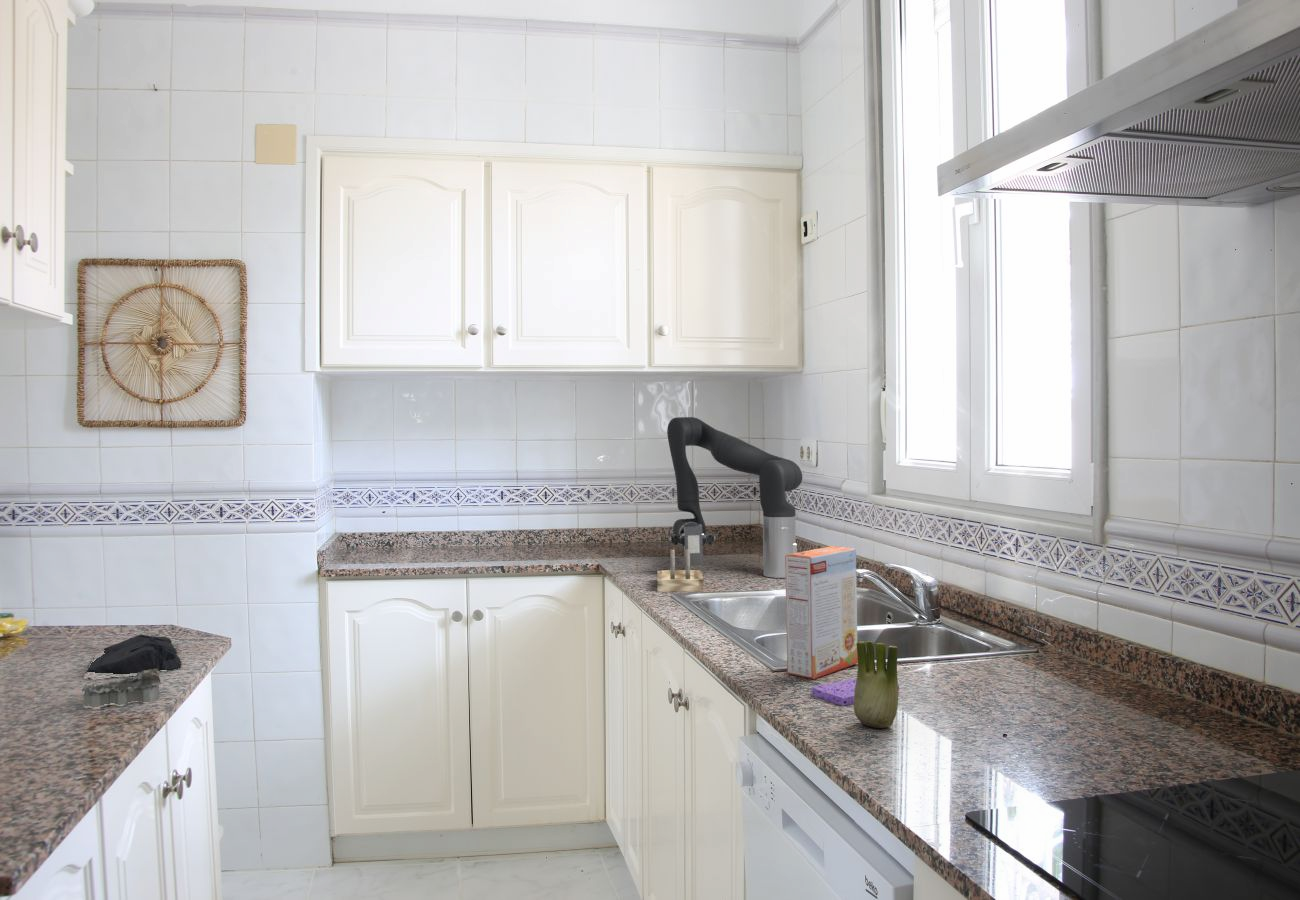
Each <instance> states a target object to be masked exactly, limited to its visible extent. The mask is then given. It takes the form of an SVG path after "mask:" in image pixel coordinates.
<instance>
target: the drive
mask: <svg viewBox="0 0 1300 900" xmlns="http://www.w3.org/2000/svg"><path fill="white" fill-rule="evenodd" d="M684 538H685V546H683V549H684V550H683V551H684V558H685V550H686V549H689V550H690V567H692V566H704V560H703V559H704V552H703V551H704V549H703V547H704V545H703V542H702V525H701V524H684Z"/></svg>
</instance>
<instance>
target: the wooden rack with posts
mask: <svg viewBox="0 0 1300 900" xmlns="http://www.w3.org/2000/svg"><path fill="white" fill-rule="evenodd" d="M675 553H676V549H670V550H669V554H670V555H669V560H670V561H669V566H670V567H669V569H667V570H663V569H662V570H657V575H656V576H657V577H656V578H657V579H656V581H657V585H656V587H657V592H662V593H663V592H664V593H665V592H700V591H699V590H704V577H703V573H702V571H701V569H698V570H697V569H693V570H692V569H691V566H690V550H689V549H686V550H685V557H684V566H685V569H683V570H681V569H677V570H676V568H675V567H676V559H675V558H676V554H675ZM704 591H705V590H704Z"/></svg>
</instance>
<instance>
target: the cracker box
mask: <svg viewBox="0 0 1300 900" xmlns="http://www.w3.org/2000/svg"><path fill="white" fill-rule="evenodd" d="M784 580H785V610H786V611H785V615H786V618H785V620H786V621H785V622H786V625H785V626H786V630H785V631H786V664H787V666H786V670H787V671H786V672H787V674H788V675H792V676H797V677H801V678H806V679H811V680H815V679H818V678H821V677H823V676H826V675H829V674H832V673H834V672H837V671H840V670H843V669H846V668H848V667H851V666H854V665H858V659H857V658H858V656H857V645H856V643H857V642H858V607H857V606H858V605H857V604H858V602H857V601H858V600H857V548H852V547H842V546H837V545H836V546H834V545H833V546H827V547H825V546H824V547H821V548H814V549H810V550H805V551H799V552H798V551H797V553H792V554H787V555H785V579H784Z"/></svg>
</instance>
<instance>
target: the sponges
mask: <svg viewBox="0 0 1300 900" xmlns="http://www.w3.org/2000/svg"><path fill="white" fill-rule="evenodd" d="M856 679H857V677H855V678H851V679H846V680H841V681H837V682H831V683H829V682H828V683H824V684H818V685H814V686H811V696H814V697H816V698H819V699H821V700H825V701H828V702H830V703H834V704H837V705H839V706H842V707H845V706H849V705H854V691H855V685H856ZM899 691H900V684H898V692H899Z"/></svg>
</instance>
